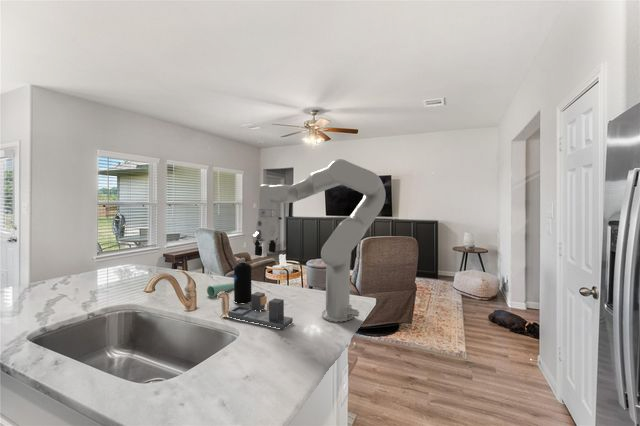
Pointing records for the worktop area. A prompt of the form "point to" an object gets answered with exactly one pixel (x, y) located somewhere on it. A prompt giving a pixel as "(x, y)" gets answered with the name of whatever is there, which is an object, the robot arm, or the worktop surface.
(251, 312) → the rail
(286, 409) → the worktop surface
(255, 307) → the dark grey block
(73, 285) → the worktop surface
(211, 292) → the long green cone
